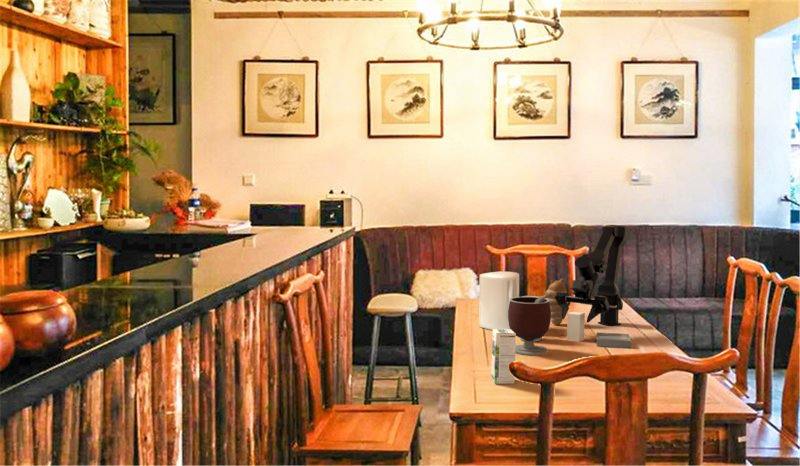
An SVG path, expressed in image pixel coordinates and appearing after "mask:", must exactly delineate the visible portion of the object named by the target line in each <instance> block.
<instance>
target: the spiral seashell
mask: <svg viewBox="0 0 800 466" xmlns="http://www.w3.org/2000/svg"><path fill="white" fill-rule="evenodd" d="M557 292H567V293H568V291H567V288H566V285H565V283H564V279H563V278H560V279H559V280H554V279H550V284H549V286H548V287H547V290H546V291H545V293H544V295H548V297H546V299H548V300H549V303H550V310H551V321H550V323H551V324H552V325H556V326H559V325H561V324H562V322H563V319H562V308H561V306H559V305H558V303H557V301H556V299H555V295H556V293H557Z"/></svg>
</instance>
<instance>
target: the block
mask: <svg viewBox="0 0 800 466" xmlns="http://www.w3.org/2000/svg"><path fill="white" fill-rule="evenodd" d="M585 315H586V314H585V312H580V311H571V312H567V314H566V318H567V319H566V320H567V325H566V330H567V331H566V340H567V341H572V342H582V341H583V340H585V321H586V319H585V318H586V316H585Z"/></svg>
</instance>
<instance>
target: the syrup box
mask: <svg viewBox="0 0 800 466" xmlns="http://www.w3.org/2000/svg"><path fill="white" fill-rule="evenodd" d="M491 336H492V338H491V340H492V341H491V364H490V365H491V368H490V369H491V373H490V375H491V376H490V379H491V380H492V382H493V383H494V385H508V384H511V385H512V384H515V381H516V379H515V378H516V377H515V378H514V377H513V376H512V375H511V374H510V372H509V369H508V365H509V363H510V362H513V361H515V362H516V354H515V348H516V345H517V343H516V341H517V336H516V333H514V332H513V331H512V330H511V329H493V330H492V333H491Z"/></svg>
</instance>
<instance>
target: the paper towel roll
mask: <svg viewBox="0 0 800 466" xmlns="http://www.w3.org/2000/svg"><path fill="white" fill-rule="evenodd" d="M478 285H479V286H478V287H479V289H478V291H479V296H478V297H479V298H478V299H479V301H478V302H479V303H478V308H479V309H478V310H479V311H478V314H479V315H478V325H479V328H482V329H484V330H490V331H493V329H510V327H509V321H508V309H509V303H510V299H511V298H514V297H520V273H518V272H515V271H491V272H485V273H480V274H479V283H478Z"/></svg>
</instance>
